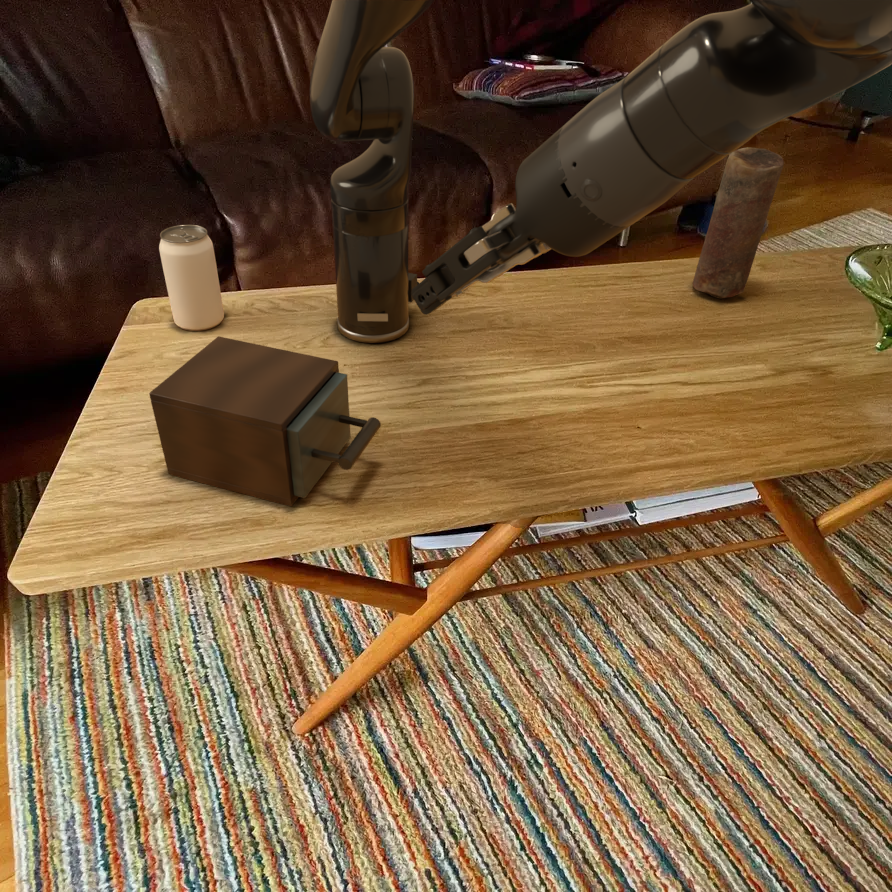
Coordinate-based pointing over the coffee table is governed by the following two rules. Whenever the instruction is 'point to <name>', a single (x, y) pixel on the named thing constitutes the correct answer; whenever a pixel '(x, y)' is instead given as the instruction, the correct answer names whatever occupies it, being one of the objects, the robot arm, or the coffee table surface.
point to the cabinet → (237, 415)
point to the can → (191, 277)
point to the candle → (737, 221)
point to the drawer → (325, 435)
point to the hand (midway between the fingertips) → (454, 284)
